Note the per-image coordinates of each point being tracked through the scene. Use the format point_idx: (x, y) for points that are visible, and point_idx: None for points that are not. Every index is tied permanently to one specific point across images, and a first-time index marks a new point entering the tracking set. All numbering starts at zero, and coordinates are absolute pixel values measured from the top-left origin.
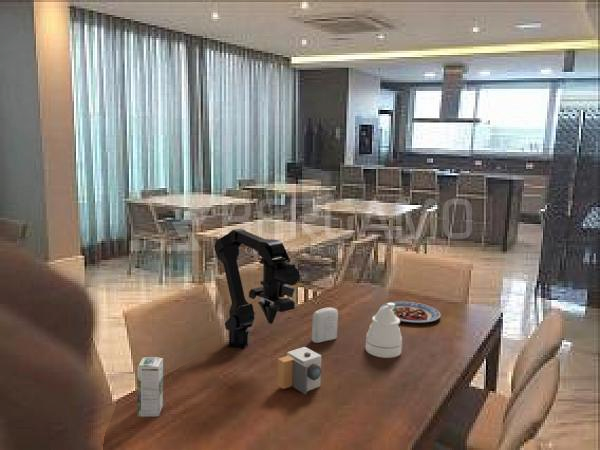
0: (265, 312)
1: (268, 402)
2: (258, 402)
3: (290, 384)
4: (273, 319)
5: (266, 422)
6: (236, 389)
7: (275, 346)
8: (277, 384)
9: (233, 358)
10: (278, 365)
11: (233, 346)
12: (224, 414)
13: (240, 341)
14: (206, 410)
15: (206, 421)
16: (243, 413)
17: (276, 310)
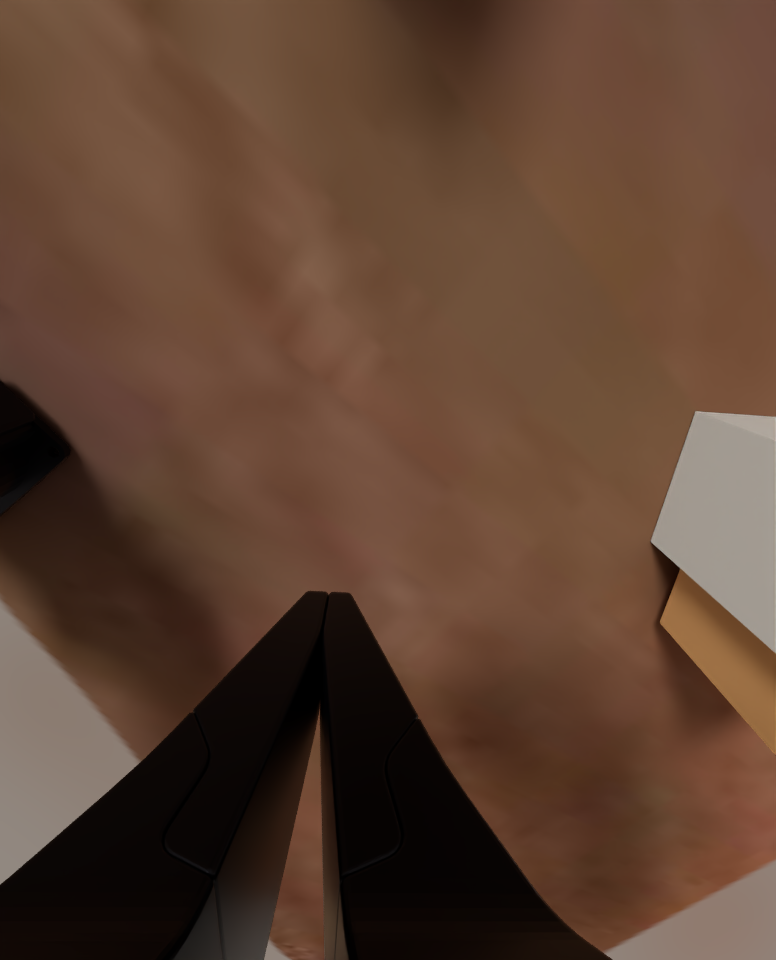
0: (262, 951)
1: (693, 702)
2: (657, 727)
3: None
4: (375, 652)
5: (772, 772)
6: (503, 735)
7: (156, 203)
8: (664, 626)
9: (193, 587)
10: (758, 728)
11: (14, 502)
12: (609, 833)
13: (3, 477)
14: (540, 856)
15: (592, 877)
16: (661, 794)
17: (495, 906)
